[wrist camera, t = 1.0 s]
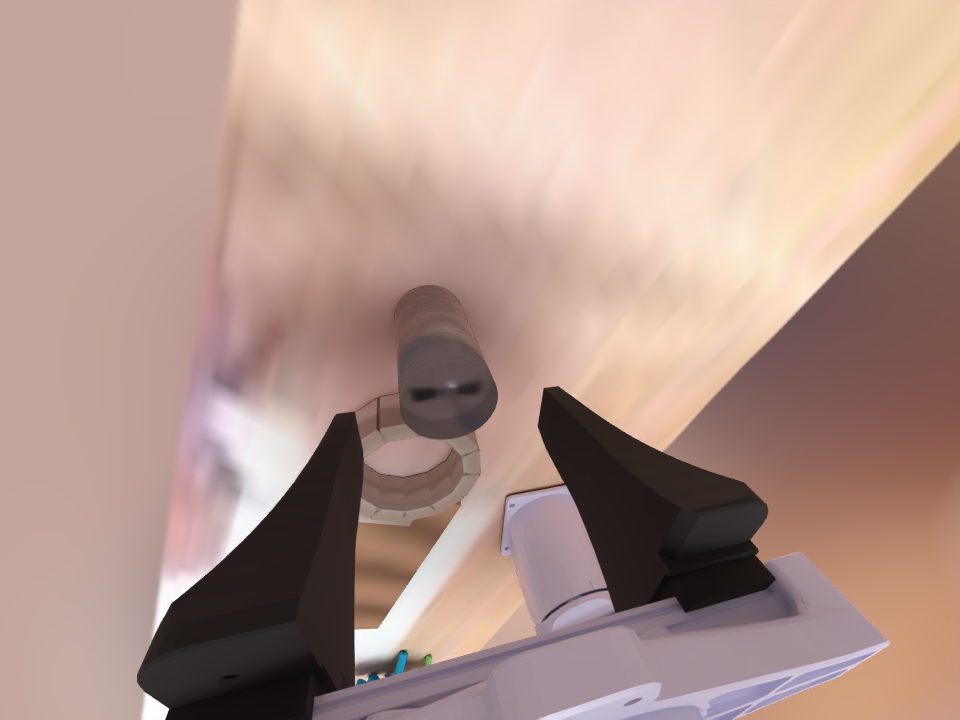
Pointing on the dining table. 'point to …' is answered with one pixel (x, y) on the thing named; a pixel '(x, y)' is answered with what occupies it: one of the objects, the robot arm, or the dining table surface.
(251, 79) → the dining table surface
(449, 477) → the brown piece
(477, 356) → the hinge pin
